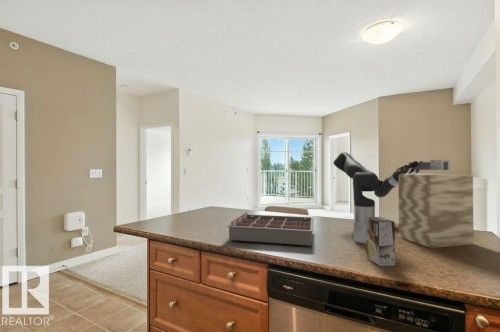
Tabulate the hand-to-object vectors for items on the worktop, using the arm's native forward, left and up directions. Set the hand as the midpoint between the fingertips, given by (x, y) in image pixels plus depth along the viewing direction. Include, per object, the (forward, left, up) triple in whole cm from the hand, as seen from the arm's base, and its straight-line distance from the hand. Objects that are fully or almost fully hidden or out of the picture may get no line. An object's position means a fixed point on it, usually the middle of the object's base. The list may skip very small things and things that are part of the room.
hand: (419, 162), depth 136 cm
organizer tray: (-62, +50, -39) cm, 89 cm away
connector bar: (-2, -4, -4) cm, 6 cm away
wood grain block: (-11, -8, -38) cm, 41 cm away
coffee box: (-59, -1, -39) cm, 70 cm away
